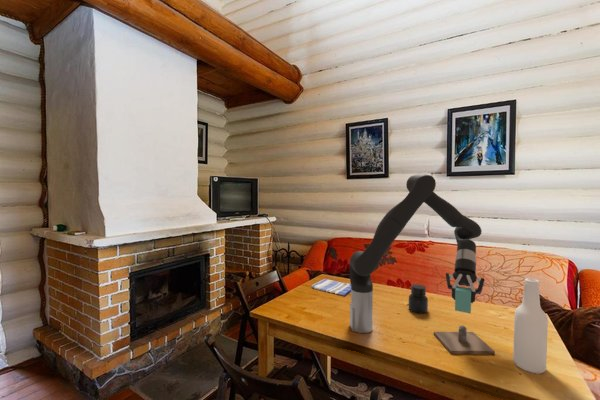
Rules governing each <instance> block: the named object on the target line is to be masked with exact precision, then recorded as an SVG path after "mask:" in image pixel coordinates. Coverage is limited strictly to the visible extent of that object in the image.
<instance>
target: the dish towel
mask: <svg viewBox="0 0 600 400" xmlns="http://www.w3.org/2000/svg"><path fill="white" fill-rule="evenodd" d="M313 288H314V290H316V289H317V290H316V291H320V290H321V292H324V291H326V292H325V293H328V292H330V293H329V294H332V293H335V294H334V295H336V294H339V295H338V296H340V295H343V296H342V297H346V296H348V295H350V294H351V293H350V292H351V283H348V282H340V281H337V280H333V279H328V278H324V279H322V280H320V281H318V282H315V283H313V284H312V285H311V289H313ZM349 293H350V294H349ZM347 294H348V295H347ZM345 295H346V296H345Z"/></svg>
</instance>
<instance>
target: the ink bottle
mask: <svg viewBox="0 0 600 400" xmlns="http://www.w3.org/2000/svg"><path fill="white" fill-rule="evenodd" d="M426 291H427V287H426V286H425V285H423V284H418V283H414V284H411V285H410V294H409V295H408V309H409V311H411V312H413V313H416V314H426V313H428V312H429V297H427V295H426Z"/></svg>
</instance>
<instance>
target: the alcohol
mask: <svg viewBox="0 0 600 400" xmlns="http://www.w3.org/2000/svg"><path fill="white" fill-rule="evenodd" d="M540 283H541V282H540V280H538V279H536V278H531V277H530V278H529V277H526V278H524V283H523V284H524V288H523V295H522V302H521V304H520V305H519V306H517V308H516V309H515V311H514V319H513V320H514V321H513V322H514V324H513V325H514V326H513V352H512V353H513V355H512V356H513V357H512V359H513V362H514V364H515V365H516V366H517V367H518V368H520V369H521V370H523V371H526V372H527V373H531V374H538V375H539V374H540V375H541V374H543V373H544V372H546V371H547V359H548V357H547V354H548V331H549V330H548V327H549V325H548V324H549V320H548V316H547V314H546V313H545V311H544V310H543V309H542V306H541V301H540Z"/></svg>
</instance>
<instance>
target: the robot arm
mask: <svg viewBox="0 0 600 400" xmlns="http://www.w3.org/2000/svg"><path fill="white" fill-rule="evenodd" d="M436 184H437V182H436V179H435V178H434V176H432V175H429V174H413V175H412V176H410V177H408V179H407V181H406V189H407V191H408V193H407V195H406V196H405V197H404V198H403V199H402V200H401V201H400V202H399V203H397V204H396V205H395V206H393V207H392V208H390V209H389V210H388V211H387V212H386V213H385V215H384V216H383V217H382V219H381V220H380V221H379V223H378V225H377V226H376V229H375V231H374V234H373V238H372V240H371V242H370V243H369V245H368V246H366V249H365V250H364V251H363V250H358V251H355V252H354V253H352V254H351V257H350V258H349V283H350V284H351V293H350V304H349V326H350V329H351V332H356V333H358V334H369V333H370V332H372V331H373V306H374V305H373V303H374V301H373V299H374V296H373V295H374V293H373V292H374V290H373V289H374V288H373V287H374V285H373V281H372V279H371V274H372V273H373V272H374V271H375V270H376V268H377V267H378V265H379V263H380V262H381V260H382V258H383V257H384V255H385V254H386V252H387V250H388V249H390V247H391V246H392V244H393V243H394V242H395V240H396V239H397V237H399V236H400V234H401V233H402V231H403V230H404V228H405V227H406V225H407V224H408V223H409V221H410V220H411V219H412V218H413V216H414V215H415V213H416V212H417V211H418V209H420V207H421V206H422V205H423V204H426V206H428V207H429V208H431V209H432V210H433V211H434V212H435V213H436V214H438V216H439V217H441V219H442V220H443V221H444V222H445V223H446V224H448V225H449V226H450V227H452V228H455V229H454V231H453V232H454V233H453V234H454V237H455V239H456V241H455V242H456V244H457V245H456V255H455V261H454V272H453V273H448V272H446V273H445V279H446V286H447V289H448V290H451V298H452V299H453V300H454V301H455V289H456V287H457V286H459V287H461V286H464V287H467V288H471V304H473V303H475V302H476V295H481V294H482V291H483V287H484V285H485V278H483V277H481V278H480V277H477V274H476V273H477V271H476V270H477V257H476V255H477V246H476V242H475V241H474V240H472V239H476V238H478V237H480V236H481V235H482V231H483V230H482V228H481V226H480V225H479V223H478V222H476V221H475V220H473V219H471V218H469V217H468V216H466V215H463V214H462V212H460V210H458V208H456V207H455V206H454V205H452V203H450V202H448V201H447V200H446V199H444V198H443V197H440V196H439V194H436V192H434V191H435V189H436V186H437V185H436ZM452 278H453V279H454V283H453V285H452V284H451V280H453V279H452ZM476 282H477V284H478V286H477V288H476V289H475V285H474V284H475V283H476Z"/></svg>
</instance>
